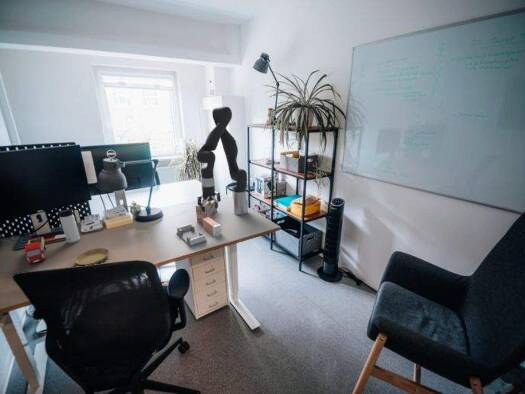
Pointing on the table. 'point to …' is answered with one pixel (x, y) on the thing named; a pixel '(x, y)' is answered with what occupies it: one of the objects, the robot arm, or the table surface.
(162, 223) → the table surface
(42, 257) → the toy truck
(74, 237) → the travel mug
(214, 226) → the peach lotion tube
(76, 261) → the plant saucer
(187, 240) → the cradle jig
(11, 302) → the table surface
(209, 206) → the stack of blocks
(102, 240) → the table surface
